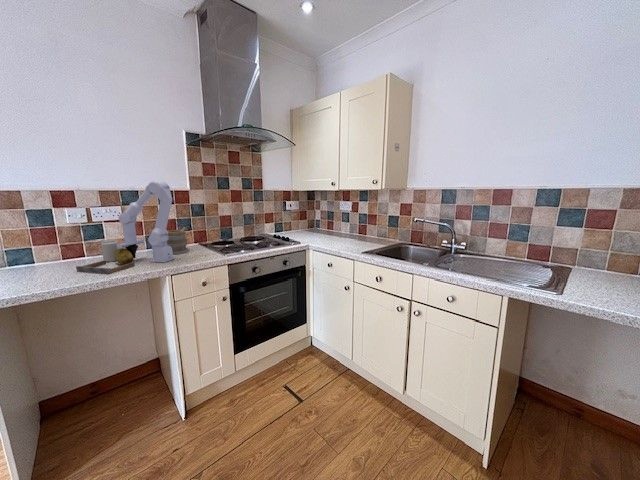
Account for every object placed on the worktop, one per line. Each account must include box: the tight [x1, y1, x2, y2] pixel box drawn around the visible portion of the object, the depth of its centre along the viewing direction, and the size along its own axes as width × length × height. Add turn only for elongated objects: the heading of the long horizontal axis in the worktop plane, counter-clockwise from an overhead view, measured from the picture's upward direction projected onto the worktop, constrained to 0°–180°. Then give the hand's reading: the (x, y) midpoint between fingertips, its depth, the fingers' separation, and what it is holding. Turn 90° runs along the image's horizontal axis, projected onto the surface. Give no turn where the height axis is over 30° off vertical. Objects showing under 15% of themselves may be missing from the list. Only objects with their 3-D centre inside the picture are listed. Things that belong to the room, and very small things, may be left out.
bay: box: [75, 260, 136, 275], centre depth 136 cm, size 20×14×2 cm, turn 77°
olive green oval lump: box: [114, 247, 135, 266], centre depth 144 cm, size 8×13×8 cm, turn 37°
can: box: [100, 238, 119, 263], centre depth 150 cm, size 8×8×12 cm
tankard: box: [167, 226, 189, 256], centre depth 172 cm, size 20×13×15 cm, turn 173°
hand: (133, 258), depth 150 cm, fingers closed
